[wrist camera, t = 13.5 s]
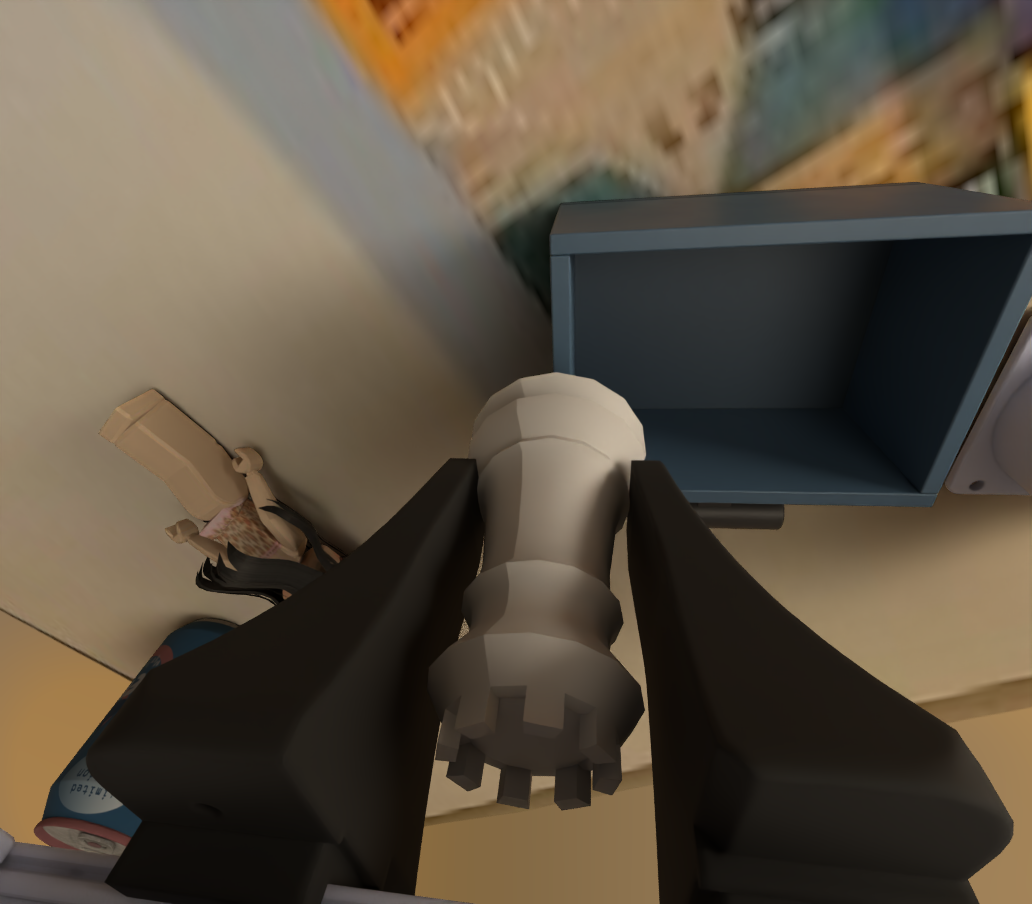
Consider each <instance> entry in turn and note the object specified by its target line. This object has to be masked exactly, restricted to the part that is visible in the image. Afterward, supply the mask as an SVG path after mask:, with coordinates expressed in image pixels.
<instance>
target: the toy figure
mask: <svg viewBox="0 0 1032 904" xmlns="http://www.w3.org/2000/svg"><path fill="white" fill-rule="evenodd" d="M98 434H99V435H101V436H102V437H104V438H105V439H107V440H108V441H109V442H112V443H115V446H116V447H118V448H119V449H121V450H122V451H123V452H125V453H126V454H127V455H129V456H130V457H131V458H133V459H134V460H136V461H137V462H138V463H140V464H141V465H142V466H144V467H145V468H147V469H148V470H149V471H151V472H152V473H153V474H155V475H156V476H157V477H159V478H160V479H162V480H163V481H164V482H165V483H166V485H167V486H168V487H169V488H170V490H171V491H172V492H173V493H174V495H175V496H176V497H177V499H178V500H179V501H180V502H181V504H182V505H183V506H184V508H185V509H186V510H187V511H188V512H189V513H190V514H191V515H193V516H194V517H196V518H198V519H201V520H203V521H204V522H207V524H206V525H205V527H204V528H203V529H202V531H201V532H200V534H199V531H198V527H197V526H196V525H195V524H194V523H193V522H192V521H190V520H189V519H184V520H181V521H178V522H177V523H176V525H173V526H170V527H167V528H165V532H166V534H167V535H168V536H169V537H170V538H171V539H172V540H173V541H175V542H176V543H179V544H180V543H184V542H187V541H188V543H189V544H191V545H192V546H193V547H195V548H196V549H197V550H199V551H200V552H201V553H203V554H204V555H205V556H207V559H206V561H205V563H204V567H203V573H204V576H206V577H207V578H208V579H210V580H211V581H210V580H207V579H205V578H203V577H202V566H203V563H202V566H201V568H200V571H199V574H198V572H197V576H196V585H197V586H198V587H199V588H201V589H204V590H206V591H210V592H217V593H226V594H236V595H249V596H255V597H260V598H263V599H266V600H268V601H270V602H271V603H272V604H274V605H276V604H279V603H280V602H282V601H284V600H285V599H287V598H288V597H290V596H291V595H293V594H294V593H296V592H297V591H299V590H300V589H302V588H303V587H305V586H306V585H308V584H309V583H311V582H312V581H314V580H316V579H317V578H319V577H320V576H322V575H323V574H324V573H326V572H327V571H329V570H330V569H331V568H333V567H334V566H335V565H337V564H338V563H339V562H341V561H342V560H343V558H342V557H345V556H347V555H345V554H344V553H345V552H344V553H342V552H341V551H342V550H341V549H340V550H341V551H339V550H338V549H339V548H338V549H336V548H334V547H333V546H331V545H330V544H328V543H327V542H325V541H324V540H322V539H321V538H320V537H319V535H318V534H317V531H316V529H315V528H314V527H313V525H312V524H311V523H310V522H309V521H308V520H306V519H305V518H304V517H302V516H301V515H300V514H299V513H297V512H296V511H295V510H293V509H292V508H290V507H288V506H287V505H285V504H284V503H282V502H280V501H279V500H277V499H275V497H274V496H273V494H272V492H271V490H270V489H269V487H268V485H267V483H266V481H265V480H264V478H263V476H262V475H261V474H260V473H258V472H257V471H258V470H260V469H261V468H262V465H263V461H262V458H261V457H260V455H259V454H258V453H257V452H256V451H255V450H253V449H252V448H238V449H235V450H234V451H235V453H237V454H238V455H239V456H240V457H238V458H233V461H232V460H231V458H230V457H229V456H228V454H227V453H226V452H225V450H224V449H223V447H222V446H220V445H218V444H217V443H216V440H215V439H214V438H213V437H211V436H210V435H209V434H208V433H207V432H205V431H204V430H203V429H202V428H201V427H199V426H198V425H197V424H196V423H194V422H193V421H192V420H191V419H190V418H188V417H187V416H186V415H185V414H183V413H182V412H181V411H180V410H179V409H177V408H176V407H175V406H174V405H173V404H171V403H170V402H169V401H166V400H165V399H164V397H163V396H161V395H160V394H159V393H158V392H156V391H155V390H154V389H151V390H149V391H147V392H145V393H143V394H141V395H140V396H138V397H136V398H134V399H132V400H130V401H128V402H126V403H124V404H122V405H120V406H118V407H117V408H116V409H115V410H114V411H113V413H112V414H111V416H110V417H109V419H108V420H107V422H106V423H105V424H104V426H103V427H102V429H101V430H100V432H99V433H98ZM242 473H246V474H247V477H244V476H243V474H242ZM249 491H250V494H251V497H252V500H253V502H252V501H250V500H248V495H249ZM276 500H277V501H279V502H277V501H276ZM281 503H282V504H281ZM283 504H284V505H283ZM286 506H287V507H286ZM280 507H281V508H283V509H284V510H283V509H281V508H280ZM285 510H286V511H285ZM294 511H295V512H294ZM301 530H302V531H303V532H304V533H305V534H306V536H307V537H308V539H309V540H310V542H311V544H312V545H311V544H310V543H309V544H310V545H311V546H312V547H313V548H311V549H310V548H309V547H308V546H307V545H306V544H307V538H306V537H305V534H304V533H303V532H302V531H301ZM318 537H319V538H320V539H321V540H322V541H324V542H325V543H327V544H328V545H330V546H331V547H333V548H334V549H336V550H338V551H339V552H341V553H342V554H344V555H345V556H342V557H340V556H339V555H338V554H336V553H335V552H334V551H332V550H331V549H330V548H329V547H327V546H324V545H321V543H320V540H319V538H318ZM216 538H217V539H218V540H219V541H220V542H221V543H222V544H220V543H218V542H216V541H214V539H216ZM211 539H212V540H211ZM323 539H324V538H323ZM329 543H330V542H329ZM332 545H333V544H332ZM306 547H307V548H308V549H309V551H307V552H306V553H305V554H304V551H305V548H306ZM335 547H336V546H335ZM303 554H304V555H303ZM348 556H349V555H348ZM210 559H212V560H213V561H215V562H216V563H217V566H216V567H215V566H213V565H212V564H211V563H210ZM344 559H345V558H344ZM251 594H255V595H251ZM260 595H263V596H266V597H268V598H271V599H272V600H273V601H274V602H275V603H276V604H275V603H274V602H273V601H272V600H270V599H267V598H265V597H262V596H260Z"/></svg>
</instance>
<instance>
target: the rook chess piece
mask: <svg viewBox="0 0 1032 904" xmlns="http://www.w3.org/2000/svg"><path fill="white" fill-rule="evenodd" d="M645 456H646V450H645V442H644V434H643V426H642V424H641V423H640V421H639V420H638V418H637V417H636V415H635V414H634V412H633V411H632V409H631V408H630V406H629V405H628V403H627V402H626V400H625V399H624V398H623V397H621V396H619V395H618V394H616V393H615V392H613V391H611V390H610V389H608V388H607V387H605V386H604V385H602V384H600V383H599V382H597V381H596V380H594V379H589V378H584V377H579V376H573V375H568V374H563V373H558V372H555V373H549V374H543V375H537V376H531V377H525V378H520V379H518V380H517V381H515V382H513V383H512V384H510V385H508V386H507V387H505V388H504V389H502V390H500V391H499V392H497V393H495V394H494V395H492V396H491V397H490V398H489V400H488V401H487V403H486V404H485V406H484V407H483V409H482V410H481V412H480V413H479V415H478V416H477V418H476V419H475V421H474V426H473V434H472V439H471V441H470V446H469V454H468V459H476V462H477V469H478V476H479V479H478V486H477V492H478V502H479V507H480V512H481V515H482V518H483V521H484V522H485V534H484V553H483V564H482V569H481V573H480V574H479V575H478V576H477V577H476V578H475V579H474V581H473V582H472V583H471V584H470V585H469V586H468V587H467V588H466V590H465V591H464V596H463V603H462V610H461V611H462V613H463V616H464V618H465V620H466V622H467V624H468V626H469V632H468V633H467V634H466V635H465V636H463V637H462V638H460V639H459V640H458V641H456V642H455V643H454V644H452V645H451V646H449V647H448V648H447V649H446V650H445V651H444V652H443V653H442V654H441V655H440V656H439V657H438V658H437V659H436V661H435V662H434V663H433V664H432V665H431V666H430V667H429V672H428V683H427V692H428V694H429V696H430V698H431V701H432V703H433V705H434V707H435V710H436V712H437V714H438V716H439V718H440V721H441V723H442V725H441V730H440V734H439V738H438V742H437V749H436V757H435V760H441V761H449V766H448V771H447V775H446V777H447V778H449V779H450V780H452V781H453V782H455V783H456V784H458V785H459V786H461V787H462V788H463V789H465V790H466V791H471V790H473V789H476V788H479V787H480V786H481V780H482V774H483V767H484V763H486V764H489V765H491V766H494V767H496V768H499V769H501V773H500V781H499V789H498V796H497V803H500V804H505V805H510V806H515V807H520V808H525V809H529V805H530V793H531V781H532V776H555V795H554V802H555V803H556V804H557V806H559V808H560V809H561V810H568V809H574V808H580V807H586V806H591V771H592V770H593V790H595V791H599V792H602V793H605V794H609V795H613V793H614V792H615V790H616V789H617V787H618V786H619V784H620V782H621V781H622V773H621V752H620V747H621V746H622V745H623V743H624V742H625V741H626V739H627V738H628V737H629V735H630V734H631V733H632V731H633V730H634V728H635V726H636V725H637V723H638V721H639V720H640V718H641V716H642V715H643V713H644V711H645V708H644V703H643V697H642V692H641V687H640V685H639V684H638V682H637V681H636V680H635V679H634V678H633V677H632V676H631V675H630V673H629V672H628V671H627V670H626V669H625V668H624V667H623V665H622V664H621V663H620V662H619V661H618V660H617V659H616V657H615V656H614V655H613V654H612V653H611V652H610V646H611V645H612V644H613V643H614V642H615V640H616V638H617V636H618V634H619V632H620V629H621V627H622V625H623V623H624V622H623V617H622V612H621V606H620V601H619V600H618V599H617V598H616V597H615V596H614V594H613V593H612V592H611V591H610V569H611V562H612V554H613V547H614V540H615V534H616V533H617V532H619V531H620V530H621V529H622V527H623V525H624V522H625V520H626V518H627V515H628V512H629V506H630V499H629V486H630V472H631V460H644V459H645Z"/></svg>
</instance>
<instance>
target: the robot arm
mask: <svg viewBox="0 0 1032 904" xmlns="http://www.w3.org/2000/svg"><path fill="white" fill-rule="evenodd" d="M478 479H479V476H478V469H477V462H476V459H465V458H450V459H449V460H448V461H447V462H446V463H445V464H444V465H443V466H442V467H441V468H440V469H439V470H438V471H437V472H436V473H435V474H434V475H433V476H432V477H431V479H430V480H429V481H428V482H427V483H426V484H425V485H424V486H423V487H422V488H421V489H420V490H419V491H418V492H417V493H416V494H415V495H414V496H413V497H412V498H411V499H410V500H409V501H408V502H407V503H406V504H405V505H404V506H403V507H402V508H401V509H400V510H399V511H398V512H397V513H396V514H395V515H394V516H393V517H392V518H391V519H390V520H389V521H388V522H387V523H386V524H385V525H384V526H382V527H381V528H380V529H379V530H378V531H377V532H376V533H375V534H374V535H372V536H371V537H370V538H369V539H368V540H367V541H366V542H365V543H363V544H362V545H361V546H360V547H359V548H357V549H356V550H355V551H354V552H352V553H351V554H350V555H349V556H347V557H346V558H345V559H343V560H342V561H341V562H339V563H338V564H337V565H335V566H334V567H333V568H331V569H330V570H329V571H327V572H326V573H324V574H323V575H322V576H320V577H319V578H317V579H316V580H314V581H312V582H311V583H309V584H308V585H306V586H305V587H303V588H302V589H300V590H299V591H297V592H296V593H294V594H293V595H291V596H290V597H288V598H287V599H285V600H284V601H282V602H280V603H279V604H277V605H275V606H274V607H272V608H270V609H269V610H267V611H265V612H263V613H262V614H260V615H258V616H257V617H255V618H253V619H251V620H249V621H248V622H246V623H244V624H242V625H240V626H238V627H237V628H235V629H233V630H231V631H229V632H227V633H225V634H223V635H222V636H220V637H218V638H216V639H214V640H212V641H210V642H208V643H206V644H203V645H201V646H199V647H197V648H195V649H193V650H191V651H189V652H187V653H185V654H183V655H181V656H179V657H176V658H174V659H172V660H170V661H168V662H166V663H164V664H162V665H159V666H157V667H155V668H153V669H151V670H150V671H149V672H148V673H147V674H146V676H145V677H144V678H143V679H142V681H141V682H140V683H139V685H138V686H137V687H136V688H135V690H134V691H133V692H132V694H131V695H130V696H129V698H128V699H127V700H126V701H125V703H124V704H123V705H122V707H121V708H120V709H119V711H118V712H117V713H116V714H115V716H114V717H113V718H112V720H111V721H110V722H109V724H108V725H107V726H106V727H105V729H104V730H103V731H102V733H101V734H100V735H99V736H98V738H97V739H96V740H95V742H94V743H93V744H92V746H91V747H90V748H89V749H88V752H87V755H86V765H87V768H88V770H89V772H90V775H91V776H92V777H93V778H94V779H95V780H96V781H97V782H98V783H99V784H100V785H101V786H102V787H103V788H104V789H105V790H106V791H108V792H109V793H110V794H111V795H112V796H114V797H115V798H116V799H117V800H118V801H120V802H121V803H122V804H123V805H124V806H125V807H127V808H128V809H129V810H130V811H131V812H133V813H134V814H135V815H136V816H137V817H139V818H140V819H141V820H142V822H141V823H140V825H139V827H138V828H137V830H136V832H135V833H134V835H133V836H132V838H131V840H130V841H129V843H128V844H127V846H126V848H125V849H124V851H123V853H122V854H121V856H117V855H109V854H102V853H95V852H87V851H80V850H72V849H65V848H58V847H50V846H43V845H35V844H28V843H20V842H15V840H14V837H12V836H11V835H10V834H8V833H7V832H6V831H4V830H2V829H1V828H0V904H473V903H465V902H458V901H450V900H443V899H436V898H428V897H421V896H415V888H416V880H417V872H418V865H419V857H420V850H421V843H422V836H423V828H424V821H425V814H426V807H427V801H428V794H429V788H430V781H431V775H432V768H433V762H434V756H435V750H436V744H437V738H438V732H439V726H440V718H439V716H438V714H437V712H436V710H435V707H434V705H433V703H432V701H431V698H430V696H429V694H428V692H427V683H428V672H429V667H430V666H431V665H432V664H433V663H434V662H435V661H436V659H437V658H438V657H439V656H440V655H441V654H442V653H443V652H444V651H445V650H446V649H447V648H448V647H449V646H451V645H452V644H454V643H455V642H456V641H458V637H459V634H460V630H461V627H462V623H463V620H464V616H463V613H462V611H461V610H462V603H463V596H464V591H465V590H466V588H467V587H468V586H469V585H470V584H471V583H472V582H473V581H474V579H475V578H476V575H477V572H478V568H479V564H480V559H481V553H482V547H483V540H484V533H485V522H484V521H483V518H482V515H481V512H480V507H479V502H478V492H477V486H478ZM975 481H977V482H976V483H974V484H972V483H973V482H975ZM945 486H946V487H947V488H948V490H949V491H951V492H952V493H955V494H987V495H1031V496H1032V316H1031V317H1030V318H1029V320H1028V322H1027V324H1026V326H1025V328H1024V330H1023V332H1022V334H1021V335H1020V337H1019V339H1018V341H1017V343H1016V345H1015V347H1014V349H1013V351H1012V353H1011V355H1010V357H1009V359H1008V361H1007V362H1006V364H1005V366H1004V368H1003V370H1002V372H1001V374H1000V376H999V378H998V380H997V382H996V384H995V386H994V388H993V389H992V391H991V393H990V395H989V397H988V399H987V401H986V403H985V405H984V407H983V409H982V411H981V413H980V415H979V416H978V418H977V420H976V422H975V424H974V426H973V428H972V430H971V432H970V434H969V436H968V438H967V440H966V442H965V444H964V445H963V447H962V449H961V451H960V453H959V455H958V457H957V459H956V461H955V463H954V465H953V467H952V469H951V471H950V472H949V474H948V476H947V478H946V480H945ZM629 499H630V506H629V512H628V515H627V529H626V530H627V551H628V570H629V576H630V582H631V588H632V595H633V601H634V607H635V613H636V618H637V624H638V630H639V636H640V642H641V648H642V654H643V660H644V667H645V675H646V683H647V697H648V711H649V725H650V739H651V755H652V770H653V787H654V804H655V821H656V839H657V859H658V880H659V898H660V899H659V900H660V904H979V902H978V900H977V898H976V896H975V893H974V891H973V889H972V887H971V885H970V883H969V881H968V879H969V878H970V877H971V876H973V875H974V874H975V873H976V872H978V871H979V870H980V869H981V868H983V867H984V866H985V865H986V864H988V863H989V862H990V861H991V860H993V859H994V858H995V857H996V856H998V855H999V854H1000V853H1001V852H1002V850H1004V848H1005V847H1006V846H1007V845H1008V844H1009V842H1010V840H1011V838H1012V836H1013V823H1014V822H1013V820H1012V818H1011V816H1010V815H1009V813H1008V811H1007V810H1006V808H1005V806H1004V805H1003V803H1002V801H1001V799H1000V798H999V796H998V794H997V792H996V791H995V789H994V787H993V785H992V784H991V782H990V780H989V779H988V777H987V775H986V774H985V772H984V770H983V769H982V767H981V765H980V764H979V762H978V761H977V760H976V758H975V757H974V755H973V754H972V753H971V751H970V750H969V748H968V747H967V746H966V744H965V743H964V741H963V740H962V738H961V737H960V735H959V734H958V732H957V731H956V730H955V729H953V728H952V727H950V726H949V725H947V724H946V723H944V722H943V721H941V720H940V719H938V718H936V717H935V716H933V715H932V714H930V713H929V712H927V711H926V710H924V709H922V708H921V707H919V706H918V705H916V704H915V703H913V702H912V701H910V700H908V699H907V698H905V697H904V696H902V695H901V694H899V693H898V692H896V691H895V690H893V689H891V688H890V687H888V686H887V685H885V684H884V683H882V682H881V681H879V680H878V679H876V678H875V677H874V676H872V675H871V674H869V673H868V672H867V671H865V670H864V669H862V668H861V667H860V666H858V665H857V664H856V663H854V662H853V661H851V660H850V659H849V658H847V657H846V656H844V655H843V654H842V653H840V652H839V651H838V650H836V649H835V648H834V647H832V646H831V645H830V644H829V643H827V642H826V641H825V640H823V639H822V638H821V637H820V636H819V635H817V634H816V633H815V632H814V631H812V630H811V629H810V628H809V627H807V626H806V625H805V624H804V623H803V622H801V621H800V620H799V619H798V618H796V617H795V616H794V615H793V614H792V613H790V612H789V611H788V610H787V609H786V608H785V607H783V606H782V605H781V604H780V603H779V602H778V601H777V600H776V599H775V598H773V597H772V596H771V595H770V594H769V593H768V592H767V591H766V590H765V589H764V588H763V587H762V586H761V585H760V584H759V583H758V582H757V581H756V580H755V579H754V578H753V577H752V576H751V575H750V574H749V573H748V572H747V571H746V570H745V569H744V568H743V567H742V566H741V565H740V564H739V563H738V562H737V561H736V560H735V559H734V557H733V556H732V555H731V554H730V553H729V552H728V551H727V549H726V548H725V547H724V546H723V545H722V544H721V543H720V542H719V540H718V539H717V538H716V537H715V535H714V534H713V533H712V532H711V531H710V529H709V528H708V527H707V526H706V524H705V523H704V522H703V520H702V519H701V518H700V517H699V515H698V514H697V513H696V511H695V510H694V509H693V507H692V506H691V505H690V503H689V502H688V500H687V499H686V498H685V496H684V495H683V493H682V492H681V490H680V489H679V487H678V486H677V484H676V483H675V481H674V480H673V478H672V476H671V475H670V473H669V471H668V470H667V468H666V466H665V465H664V464H663V463H662V462H661V461H660V460H631V472H630V486H629Z"/></svg>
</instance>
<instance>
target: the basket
mask: <svg viewBox="0 0 1032 904" xmlns="http://www.w3.org/2000/svg"><path fill="white" fill-rule="evenodd" d="M549 248H550V255H551V256H550V283H551V317H552V352H553V373H555V372H558V373H563V374H568V375H573V376H579V377H584V378H589V379H594V380H596V381H597V382H599V383H600V384H602V385H604V386H605V387H607V388H608V389H610V390H611V391H613V392H615V393H616V394H618V395H619V396H621V397H623V398H624V399H625V400H626V402H627V403H628V405H629V406H630V408H631V409H632V411H633V412H634V414H635V415H636V417H637V418H638V420H639V421H640V423H641V424H642V426H643V434H644V442H645V450H646V456H645V459H644V460H660V461H661V462H662V463H663V464H664V465H665V466H666V468H667V470H668V471H669V473H670V475H671V476H672V478H673V480H674V481H675V483H676V484H677V486H678V487H679V489H680V490H681V492H682V493H683V495H684V496H685V498H686V499H687V500H688V502H689V503H690V505H691V506H692V507H693V509H694V510H695V511H696V513H697V514H698V515H699V517H700V518H701V519H702V520H703V522H704V523H705V524H706V526H707V527H708V528H731V529H769V530H777V529H780V528H781V527H782V524H783V521H784V504H793V505H844V506H895V507H932V506H933V504H934V502H935V499H936V497H937V493H939V491H940V489H941V487H942V485H943V483H944V480H945V478H946V476H947V474H948V472H949V470H950V468H951V466H952V464H953V461H954V459H955V457H956V455H957V453H958V451H959V449H960V447H961V445H962V442H963V440H964V438H965V436H966V434H967V432H968V430H969V428H970V426H971V423H972V421H973V419H974V417H975V415H976V413H977V411H978V409H979V407H980V404H981V402H982V400H983V398H984V396H985V394H986V392H987V390H988V388H989V385H990V383H991V381H992V379H993V377H994V375H995V373H996V371H997V369H998V366H999V364H1000V362H1001V360H1002V358H1003V356H1004V354H1005V352H1006V350H1007V347H1008V345H1009V343H1010V341H1011V339H1012V337H1013V335H1014V333H1015V331H1016V328H1017V326H1018V324H1019V322H1020V320H1021V318H1022V316H1023V314H1024V312H1025V309H1026V307H1027V305H1028V303H1029V301H1030V299H1031V297H1032V201H1028V200H1022V199H1016V198H1010V197H1004V196H998V195H992V194H986V193H980V192H974V191H968V190H962V189H956V188H950V187H944V186H938V185H932V184H926V183H920V182H908V183H891V184H874V185H857V186H840V187H823V188H806V189H789V190H772V191H755V192H738V193H721V194H704V195H687V196H670V197H653V198H636V199H619V200H602V201H585V202H568V203H561V204H560V206H559V209H558V212H557V215H556V218H555V221H554V224H553V227H552V230H551V233H550V236H549Z"/></svg>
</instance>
